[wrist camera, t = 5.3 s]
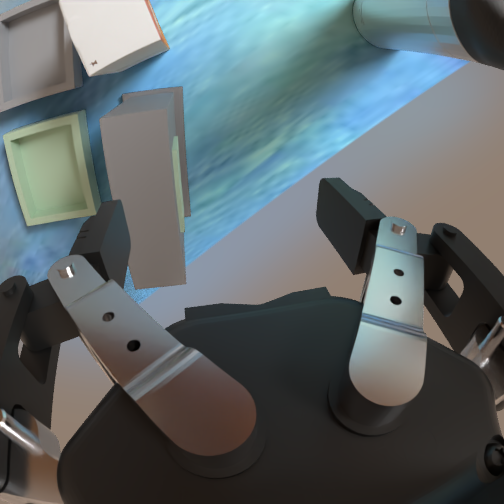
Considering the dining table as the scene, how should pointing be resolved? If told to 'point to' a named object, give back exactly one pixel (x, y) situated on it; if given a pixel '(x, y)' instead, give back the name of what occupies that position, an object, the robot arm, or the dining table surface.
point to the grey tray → (36, 54)
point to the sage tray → (53, 169)
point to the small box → (113, 33)
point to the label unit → (150, 181)
